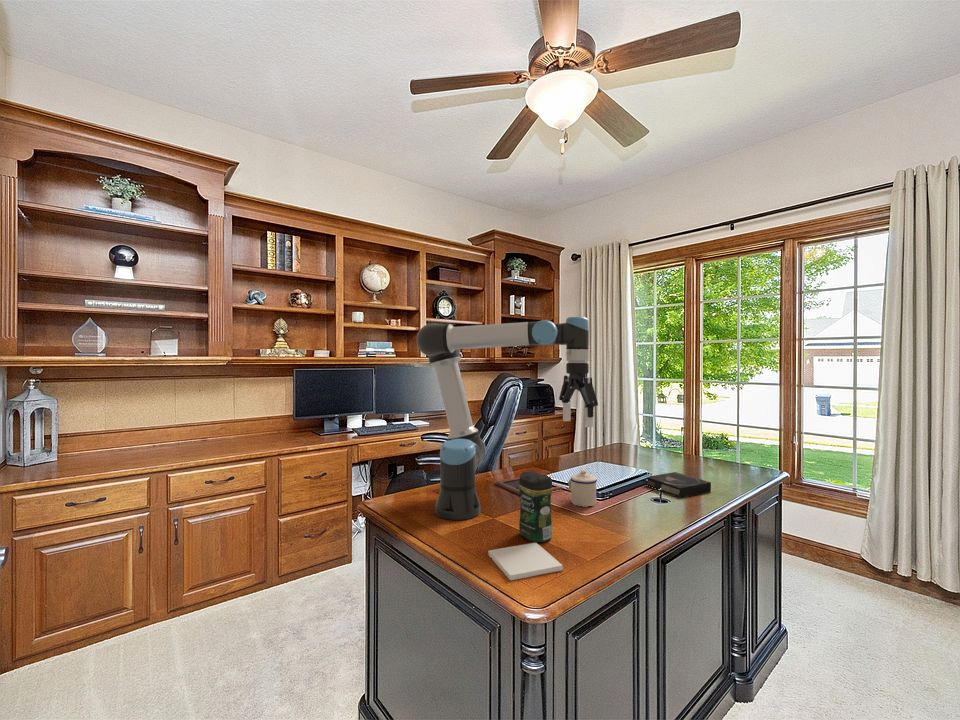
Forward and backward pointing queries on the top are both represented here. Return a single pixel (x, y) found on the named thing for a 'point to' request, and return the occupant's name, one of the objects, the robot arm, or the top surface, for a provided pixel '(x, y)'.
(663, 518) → the top surface
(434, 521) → the top surface
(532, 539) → the coffee jar
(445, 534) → the top surface
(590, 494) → the teacup with lid
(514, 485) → the picture frame
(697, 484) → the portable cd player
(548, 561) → the coaster board
